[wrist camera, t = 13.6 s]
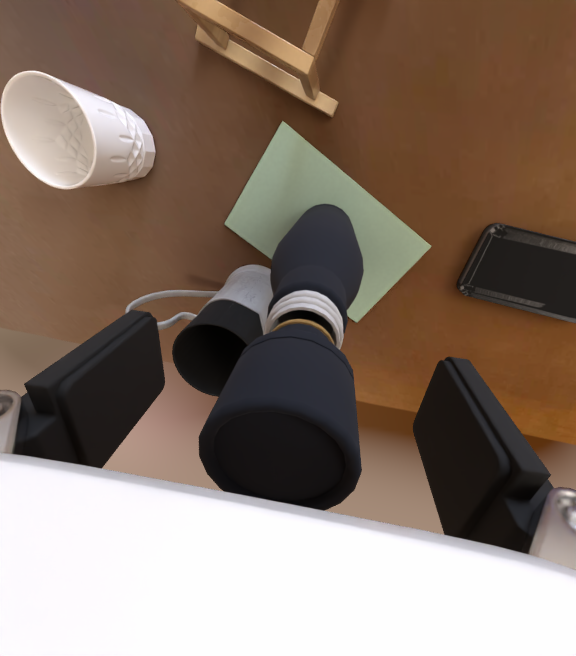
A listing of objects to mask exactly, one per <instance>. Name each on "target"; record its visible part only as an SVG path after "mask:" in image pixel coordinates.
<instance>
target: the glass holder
mask: <svg viewBox="0 0 576 656" xmlns="http://www.w3.org/2000/svg"><path fill="white" fill-rule="evenodd" d="M270 274H271V269H269V268H267V267H264V266H261V265H246V266H242V267H240V268H238V269H236V270H235V271H234V272H232V274H231V275H230V276H229V277H228V279H227V281H226V283H225V286H224V287H223V288H222V289H221V290H220V291H194V290H168V291H161V292H156V293H151V294H149V295H146V296H143V297H140V298H138V299H137V300H135V301H133V302H131V303H130V304H129V305H128V306H127V307H126V312H125V314H126V313H128V312H129V311H131V310H133V309H134V308H136V307H138V306H140V305H141V304H143V303H146V302H149V301H152V300H155V299H160V298H166V297H176V296H192V297H213V298H212V299H211V300H210V301H209V302H208V303H207V304H206V305H205V306H204V307H203V308H202V309H201V310H200V312H199V313H198V315H195V314H192V313H188V312H181V313H178V314H177V315H175V316H174V317H173V318H171V319H169V320H167V321H164V322H157V325H158V330H162V329H166V328H168V327H171V326H172V325H174V324H175V323H176V322H178V321H179V320H181V319H189V320H192V321H191V322H190V323H189V324H188V325H187V326H186V327H185V328H184V329H183V330H182V331H181V333H180V334H179V335H178V336H177V338H176V339H175V341H174V344H173V350H172V355H173V361H174V364H175V366H176V368H177V370H178V372H179V373H180V375H181V376H182V378H184V380H185V381H186V382H188V383H189V384H190V385H191V386H192V387H194V388H195V389H197V390H199V391H201V392H203V393H206V394H209V395H212V396H218V397H219V396H220V394H221V392H222V390H223V388H224V386H225V384H226V382H227V381H228V379H229V377H230V375H231V373H232V371H233V369H234V367H235V365H236V363H237V362H238V360H239V358H240V356H241V354H242V352H243V350H244V349H245V348H246V347H247V346H248V345H249V344H250V343H251V342H253V341H254V340H255V339H256V338H258V337H260V336H263V335H265V334H264V333H265V323H266V320H267V313H268V306H269V304H270V302H271V300H272V298H273V292H272V288H271V283H270Z"/></svg>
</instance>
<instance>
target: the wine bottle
mask: <svg viewBox="0 0 576 656" xmlns="http://www.w3.org/2000/svg"><path fill="white" fill-rule="evenodd" d="M363 273H364V269H363V257H362V254H361V251H360V247H359V244H358V241H357V238H356V235H355V232H354V228H353V225H352V223H351V221H350V218H349V216H348V215H347V214H346V213H345V212H344V211H343V210H342V209H341V208H339V207H337V206H335V205H331V204H319V205H315V206H313V207H311V208H310V209H308V210H307V211H306V212H305V213H304V214H303V215H302V216H301V217H300V218H299V219H298V221H297V222H296V223H295V224H294V225H293V227H292V228H291V229H290V230H289V231H288V233H287V234H286V235H285V236H284V237H283V239H282V240H281V241H280V242H279V243H278V246H277V248H276V250H275V252H274V254H273V257H272V265H271V274H270V283H271V288H272V292H273V298H272V300H271V302H270V304H269V306H268V313H267V320H266V323H265V333H264V334H265V335H263V336H260V337H258V338H256V339H255V340H254V341H253V342H251V343H250V344H249V345H248V346H247V347H246V348H245V349H244V350H243V352H242V354H241V356H240V358H239V360H238V362H237V363H236V365H235V367H234V369H233V371H232V373H231V375H230V377H229V379H228V381H227V382H226V384H225V386H224V388H223V390H222V392H221V394H220V396H219V398H218V400H217V401H216V404H215V405H214V407H213V409H212V411H211V413H210V415H209V417H208V419H207V421H206V423H205V425H204V427H203V429H202V431H201V433H200V435H199V456H200V459H201V461H202V463H203V465H204V468H205V470H206V472H207V474H208V475H209V476H210V477H211V479H212V480H213V481H214V482H215V483H216V484H217V485H218V486H219V488H220V489H222V490H223V491H224V492H229V493H234V494H240V495H245V496H250V497H255V498H261V499H266V500H271V501H276V502H281V503H287V504H292V505H297V506H302V507H307V508H312V509H318V510H323V511H325V510H327V509H329V508H331V507H333V506H335V505H338V504H340V503H341V502H342V501H343V500H344V499H345V498H346V497H347V496H349V494H350V493H352V492H353V491H354V489H355V487H356V485H357V482H358V479H359V477H360V474H361V471H362V469H361V458H360V446H359V434H358V423H357V411H356V399H355V387H354V377H353V370H352V368H351V366H350V364H349V362H348V360H347V358H346V356H345V355H344V354H343V353H342V352H341V351H340V348H341V346H342V342H343V338H344V333H345V329H346V325H347V321H348V319H347V310H348V309H349V307H350V306H351V304H352V303H353V301H354V300H355V298H356V296H357V294H358V292H359V288H360V285H361V281H362V277H363Z"/></svg>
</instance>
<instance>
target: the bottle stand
mask: <svg viewBox="0 0 576 656" xmlns="http://www.w3.org/2000/svg"><path fill="white" fill-rule="evenodd" d="M176 2H177V3H178V4H179V5H180V6H181V7H182V8H183V9H184V10H185V11H186V12H187V13H188V14H189V15H190V16H191V18H192V19H193V20H194V21H195V22H196V23H197V24H198V26H197V31H196V35H195V39H196V40H197V41H198V42H199V43H200V44H202V45H204V46H206V47H207V48H209V49H211V50H213V51H215V52H216V53H218V54H220V55H222V56H223V57H225V58H227V59H229V60H230V61H232V62H234V63H236V64H237V65H239V66H241V67H243V68H245V69H246V70H248V71H250V72H252V73H253V74H255V75H257V76H259V77H260V78H262V79H264V80H266V81H267V82H269V83H271V84H273V85H275V86H276V87H278V88H280V89H282V90H283V91H285V92H287V93H289V94H290V95H292V96H294V97H296V98H298V99H299V100H301V101H303V102H305V103H306V104H308V105H310V106H312V107H313V108H315V109H317V110H319V111H320V112H322V113H324V114H326V115H328V116H329V117H331V118H333V116H334V113H335V111H336V109H337V107H338V102H337V101H336V100H334V99H332V98H330V97H329V96H327V95H325V94H323V93H322V92H320V91H319V90H320V85H319V80H318V75H317V70H316V65H315V62H316V60H317V58H318V55H319V53H320V50H321V47H322V45H323V42H324V40H325V37H326V35H327V32H328V30H329V27H330V25H331V22H332V19H333V17H334V14H335V12H336V9H337V7H338V4H339V2H340V0H319V2H318V5H317V8H316V11H315V13H314V16H313V19H312V21H311V24H310V27H309V30H308V32H307V35H306V38H305V41H304V43H303V46H302V50H301V49H299V48H297V47H296V46H294V45H292V44H290V43H289V42H287V41H285V40H284V39H282V38H280V37H278V36H277V35H275V34H273V33H272V32H270V31H268V30H266V29H265V28H263V27H261V26H259V25H258V24H256V23H254V22H253V21H251V20H249V19H247V18H246V17H244V16H242V15H241V14H239V13H237V12H235V11H234V10H232V9H230V8H229V7H227V6H225V5H223V4H222V3H220V2H218V1H217V0H176ZM226 32H227V33H229V34H231V35H232V36H234V37H236V38H238V39H239V40H241V41H243V42H245V43H246V44H248V45H250V46H251V47H253V48H255V49H257V50H258V51H260V52H262V53H264V54H265V55H267V56H269V57H271V58H272V59H274V60H276V61H278V62H279V63H281V64H283V65H285V66H286V67H288V68H290V69H292V70H293V71H295V72H297V74H298V76H299V79H300V80H299V79H297V78H295V77H294V76H292V75H290V74H288V73H287V72H285V71H283V70H282V69H280V68H278V67H276V66H275V65H273V64H271V63H269V62H268V61H266V60H264V59H262V58H261V57H259V56H257V55H255V54H254V53H252V52H250V51H248V50H247V49H245V48H243V47H241V46H240V45H238V44H236V43H234V42H233V41H231V40H229V35H228V34H227V33H226Z"/></svg>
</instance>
